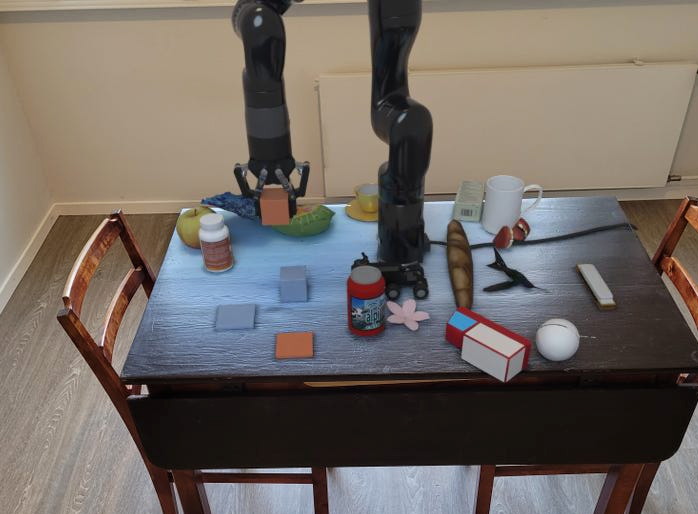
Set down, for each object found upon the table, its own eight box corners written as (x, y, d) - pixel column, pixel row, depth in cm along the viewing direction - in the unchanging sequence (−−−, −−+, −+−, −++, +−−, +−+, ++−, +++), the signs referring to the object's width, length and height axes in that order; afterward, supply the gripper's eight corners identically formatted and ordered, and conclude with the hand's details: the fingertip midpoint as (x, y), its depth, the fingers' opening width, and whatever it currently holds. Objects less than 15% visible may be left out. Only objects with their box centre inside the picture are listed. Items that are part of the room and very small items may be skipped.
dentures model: (511, 243, 144) (537, 229, 148) (499, 227, 145) (524, 214, 148) (498, 257, 149) (524, 244, 153) (487, 242, 150) (512, 229, 153)
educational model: (322, 246, 151) (321, 223, 148) (254, 237, 155) (251, 215, 151) (340, 221, 161) (339, 199, 157) (275, 214, 164) (273, 192, 161)
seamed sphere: (522, 343, 118) (533, 313, 122) (543, 372, 121) (553, 342, 125) (577, 333, 111) (587, 302, 115) (597, 364, 114) (606, 332, 118)
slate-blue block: (307, 286, 140) (305, 265, 137) (307, 300, 136) (305, 279, 133) (282, 287, 140) (280, 266, 137) (281, 302, 136) (279, 280, 133)
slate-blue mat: (255, 306, 135) (255, 303, 135) (253, 328, 130) (253, 325, 129) (219, 308, 135) (219, 305, 134) (215, 330, 129) (215, 327, 129)
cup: (406, 208, 164) (407, 187, 160) (372, 228, 157) (372, 206, 154) (368, 193, 170) (368, 173, 167) (334, 211, 164) (333, 190, 160)
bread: (441, 223, 158) (443, 203, 155) (463, 223, 158) (465, 203, 154) (452, 324, 129) (454, 302, 126) (479, 324, 129) (482, 302, 125)
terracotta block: (290, 211, 133) (288, 187, 129) (289, 224, 129) (287, 199, 126) (264, 212, 133) (261, 188, 129) (262, 225, 129) (259, 200, 126)
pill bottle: (239, 267, 146) (232, 220, 139) (212, 277, 143) (203, 229, 136) (226, 255, 150) (218, 208, 143) (199, 263, 147) (190, 216, 140)
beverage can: (357, 344, 125) (355, 288, 118) (342, 323, 130) (340, 268, 122) (391, 334, 127) (391, 278, 120) (375, 314, 132) (375, 259, 124)
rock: (263, 216, 146) (262, 225, 147) (283, 197, 162) (282, 205, 162) (196, 200, 147) (195, 209, 148) (222, 183, 162) (221, 191, 163)
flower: (438, 338, 129) (440, 332, 127) (385, 338, 126) (387, 332, 125) (426, 301, 135) (428, 295, 134) (376, 301, 133) (377, 295, 132)
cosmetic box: (479, 222, 158) (484, 198, 167) (481, 204, 155) (486, 181, 164) (451, 219, 159) (458, 196, 168) (453, 201, 157) (460, 179, 166)
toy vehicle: (350, 279, 141) (349, 242, 136) (424, 276, 142) (426, 238, 136) (352, 303, 135) (351, 264, 129) (430, 299, 135) (432, 260, 130)
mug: (485, 236, 153) (490, 192, 146) (479, 218, 159) (483, 175, 152) (540, 234, 153) (548, 190, 146) (532, 217, 159) (539, 173, 152)
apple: (235, 233, 153) (222, 200, 148) (204, 257, 148) (189, 224, 143) (207, 228, 159) (193, 196, 154) (176, 251, 154) (161, 219, 149)
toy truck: (461, 304, 124) (437, 320, 121) (532, 340, 116) (509, 358, 113) (459, 329, 128) (435, 345, 124) (528, 366, 120) (505, 384, 116)
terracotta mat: (312, 334, 128) (312, 331, 127) (313, 357, 123) (312, 354, 122) (277, 336, 128) (276, 333, 127) (276, 358, 123) (275, 356, 122)
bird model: (531, 275, 146) (542, 301, 138) (475, 265, 144) (482, 291, 136) (541, 253, 143) (552, 279, 135) (483, 242, 141) (491, 268, 133)
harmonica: (615, 309, 131) (618, 301, 130) (599, 310, 131) (602, 301, 130) (589, 268, 143) (591, 259, 141) (575, 269, 142) (576, 260, 141)
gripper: (223, 137, 117) (236, 228, 128) (309, 134, 117) (315, 225, 128) (228, 120, 122) (240, 208, 133) (310, 118, 123) (315, 206, 133)
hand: (276, 216), depth 130 cm, fingers closed on terracotta block, 5 cm apart
